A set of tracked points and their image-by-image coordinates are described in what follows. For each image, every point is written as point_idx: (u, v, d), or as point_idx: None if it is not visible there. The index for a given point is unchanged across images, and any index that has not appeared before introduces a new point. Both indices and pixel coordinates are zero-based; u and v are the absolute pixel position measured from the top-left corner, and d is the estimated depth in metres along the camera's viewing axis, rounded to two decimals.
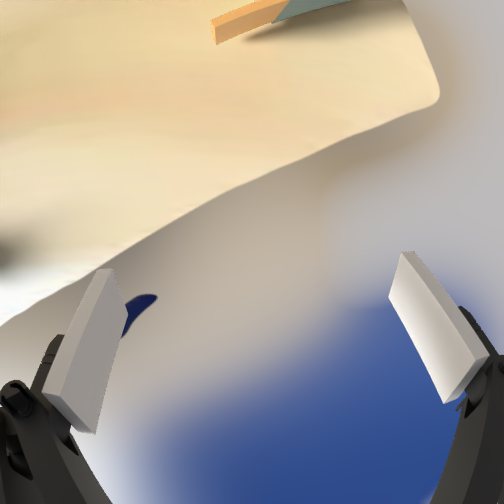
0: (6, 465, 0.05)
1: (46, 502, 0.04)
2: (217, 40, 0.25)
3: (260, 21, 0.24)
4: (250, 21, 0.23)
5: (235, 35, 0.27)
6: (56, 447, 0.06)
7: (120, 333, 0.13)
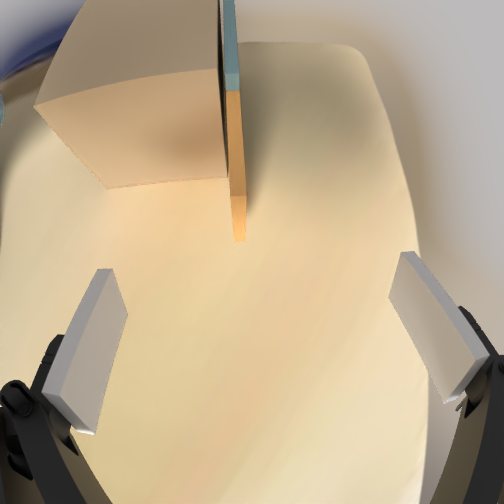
0: (7, 465, 0.05)
1: (46, 502, 0.04)
2: None
3: None
4: None
5: None
6: (56, 447, 0.06)
7: (120, 333, 0.13)
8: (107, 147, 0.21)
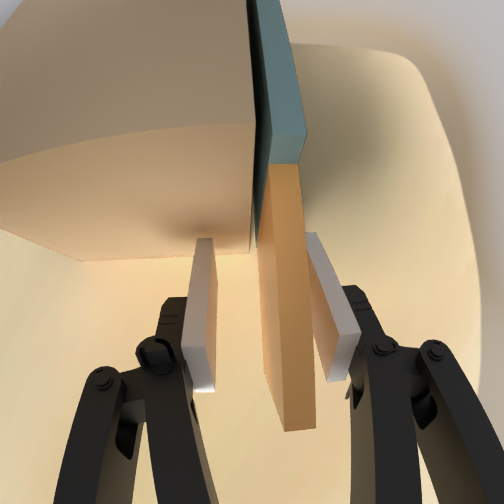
0: (113, 443, 0.06)
1: (154, 467, 0.06)
2: None
3: None
4: None
5: None
6: (189, 415, 0.07)
7: (216, 299, 0.15)
8: (62, 231, 0.13)
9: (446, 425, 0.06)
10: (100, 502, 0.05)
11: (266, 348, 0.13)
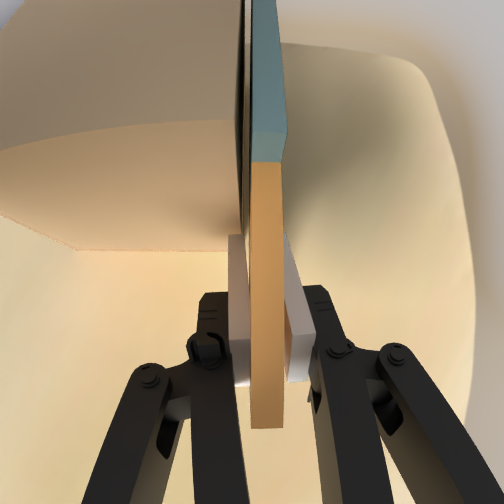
0: (153, 444, 0.07)
1: (194, 462, 0.06)
2: None
3: None
4: None
5: None
6: (235, 411, 0.07)
7: None
8: (57, 220, 0.13)
9: (414, 432, 0.06)
10: (134, 503, 0.05)
11: None
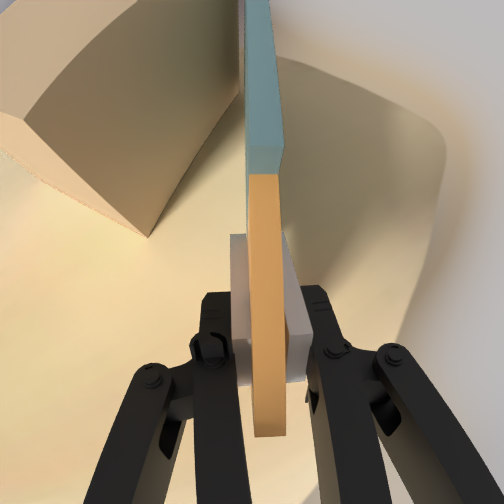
0: (156, 444, 0.07)
1: (197, 462, 0.06)
2: None
3: None
4: None
5: None
6: (238, 411, 0.07)
7: None
8: (10, 151, 0.14)
9: (412, 432, 0.06)
10: (136, 503, 0.05)
11: None
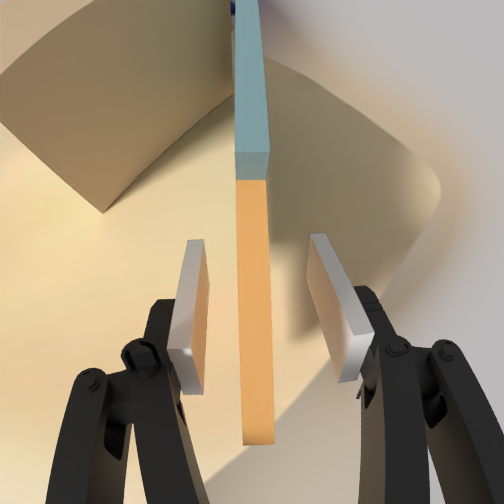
0: (101, 444, 0.06)
1: (142, 469, 0.06)
2: None
3: None
4: None
5: None
6: (175, 416, 0.07)
7: (207, 301, 0.14)
8: None
9: (455, 424, 0.06)
10: (91, 502, 0.05)
11: None
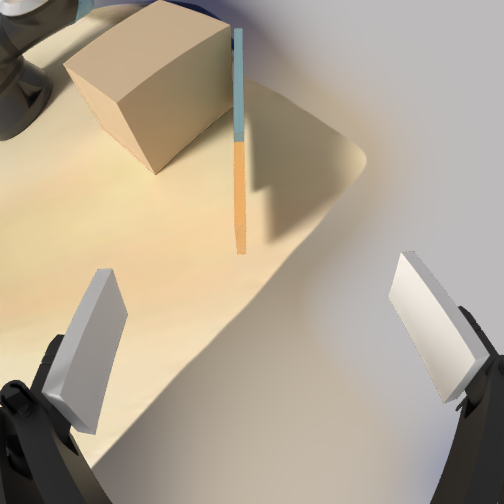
0: (7, 465, 0.05)
1: (46, 502, 0.04)
2: (245, 246, 0.28)
3: None
4: None
5: None
6: (56, 447, 0.06)
7: (120, 333, 0.13)
8: (95, 108, 0.30)
9: None
10: None
11: None
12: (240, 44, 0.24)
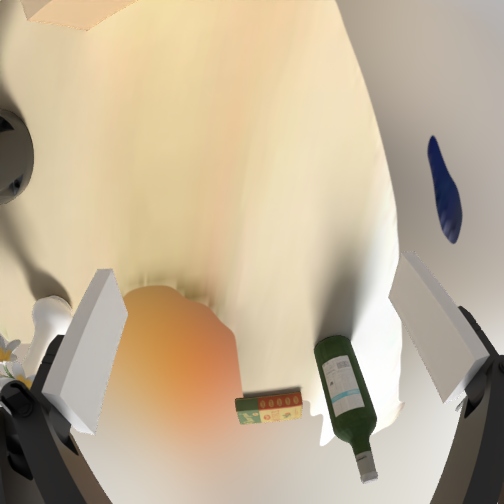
0: (7, 465, 0.05)
1: (46, 502, 0.04)
2: None
3: None
4: None
5: None
6: (56, 447, 0.06)
7: (120, 333, 0.13)
8: (82, 9, 0.20)
9: None
10: None
11: None
12: None
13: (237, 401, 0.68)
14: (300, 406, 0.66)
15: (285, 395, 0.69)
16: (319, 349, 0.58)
